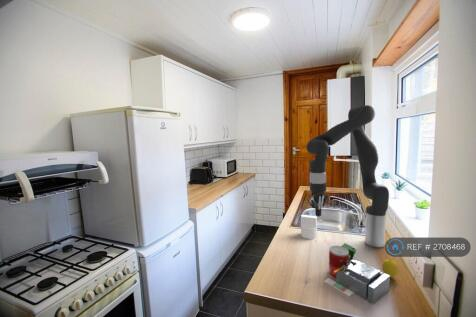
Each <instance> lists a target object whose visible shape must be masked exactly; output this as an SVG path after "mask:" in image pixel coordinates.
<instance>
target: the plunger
mask: <svg viewBox="0 0 476 317" xmlns="http://www.w3.org/2000/svg"><path fill="white" fill-rule="evenodd" d="M352 266H353V264H352V263H351V262H350V263H349V266H348V267H346V266H345V265H343V266H342V267H340V268H338V269H337V270H335V271H334V273H337V272H339V271H340V270H342V269H343V270H345V271H347V272H349V268H351V267H352Z"/></svg>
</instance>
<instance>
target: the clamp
mask: <svg viewBox="0 0 476 317" xmlns="http://www.w3.org/2000/svg"><path fill="white" fill-rule="evenodd" d="M341 247H344V248H346V249H347V250H348V251H349V261H351V260H353V259H354V256H355V255H356V252H357V248H355V247H353V246H351V245H350V244H348V243H346V242H344V243H343V244H342V245H341Z"/></svg>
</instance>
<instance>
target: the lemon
mask: <svg viewBox="0 0 476 317" xmlns="http://www.w3.org/2000/svg"><path fill="white" fill-rule="evenodd" d="M381 266H382V272H383V274H384V273H385V274H387V275H389V276H390V278H395V277H397V275H398V273H399V267H398V264H397V262H395V260H393V259H391V258H389V259H385V260H384V261H383V262H382V264H381Z"/></svg>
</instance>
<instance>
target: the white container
mask: <svg viewBox="0 0 476 317" xmlns="http://www.w3.org/2000/svg"><path fill="white" fill-rule="evenodd" d="M300 216H301V217H300V236H301V237H302V238H303V237H304V239H306V238H307V239H306V240H314V238H315V239H316V238H318V236H317V235H318V234H317V233H318V228H317V227H318V216H316V215H307V214H301V215H300Z"/></svg>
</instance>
